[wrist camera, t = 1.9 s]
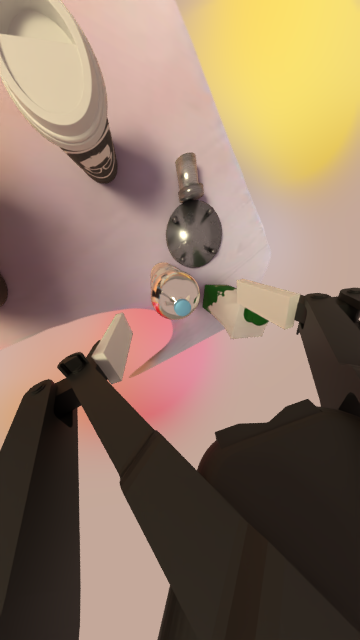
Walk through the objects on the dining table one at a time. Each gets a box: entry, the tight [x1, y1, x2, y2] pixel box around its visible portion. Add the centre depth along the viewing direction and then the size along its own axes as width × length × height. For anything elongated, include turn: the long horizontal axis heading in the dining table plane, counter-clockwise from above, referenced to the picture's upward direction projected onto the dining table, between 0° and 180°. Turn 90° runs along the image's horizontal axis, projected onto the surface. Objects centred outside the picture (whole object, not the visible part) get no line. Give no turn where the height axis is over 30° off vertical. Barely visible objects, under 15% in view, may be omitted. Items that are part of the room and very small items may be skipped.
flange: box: [166, 153, 222, 267], centre depth 30 cm, size 14×20×5 cm
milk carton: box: [203, 285, 268, 339], centre depth 33 cm, size 9×9×20 cm
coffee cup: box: [0, 0, 117, 183], centre depth 18 cm, size 10×10×15 cm
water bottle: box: [150, 262, 200, 320], centre depth 25 cm, size 7×7×25 cm
